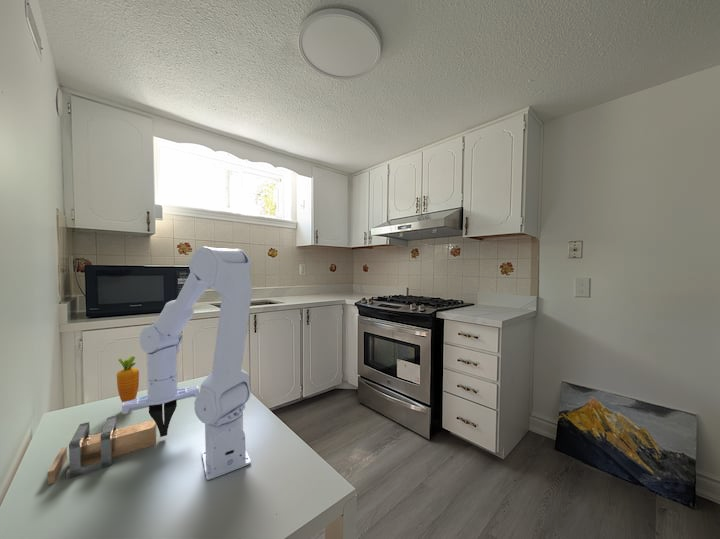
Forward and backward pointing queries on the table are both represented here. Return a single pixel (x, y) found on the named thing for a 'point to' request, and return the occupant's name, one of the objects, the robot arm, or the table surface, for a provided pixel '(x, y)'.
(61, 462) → the bar
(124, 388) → the carrot
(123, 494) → the table surface
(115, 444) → the pine wood beam
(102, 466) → the gray metal beam bracket
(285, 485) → the table surface
